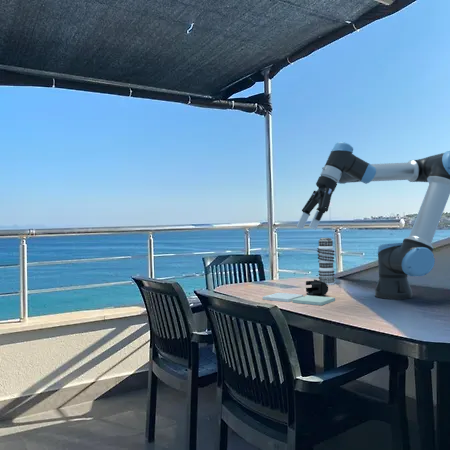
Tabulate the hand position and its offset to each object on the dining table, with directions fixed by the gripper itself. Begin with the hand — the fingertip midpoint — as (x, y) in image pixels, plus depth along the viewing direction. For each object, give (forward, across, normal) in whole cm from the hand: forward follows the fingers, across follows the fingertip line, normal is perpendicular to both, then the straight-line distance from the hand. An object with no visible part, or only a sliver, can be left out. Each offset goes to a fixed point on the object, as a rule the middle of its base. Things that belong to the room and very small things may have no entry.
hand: (305, 228), depth 163 cm
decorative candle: (+11, -62, +46) cm, 78 cm away
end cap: (+20, -28, +28) cm, 45 cm away
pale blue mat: (+28, -24, +13) cm, 39 cm away
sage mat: (+24, -13, +21) cm, 34 cm away
